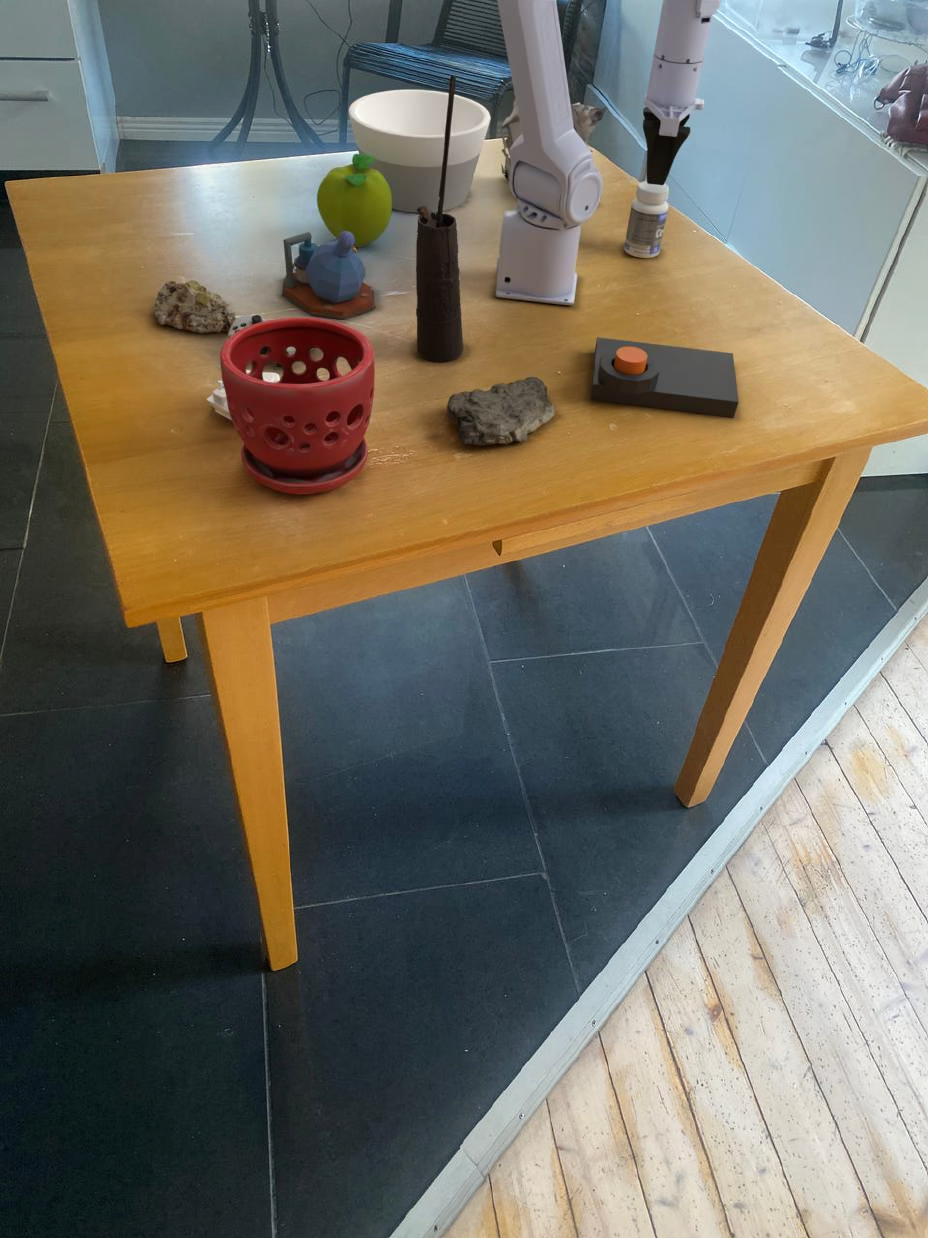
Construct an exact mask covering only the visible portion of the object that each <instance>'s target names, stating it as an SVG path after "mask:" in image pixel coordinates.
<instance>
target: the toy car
mask: <svg viewBox="0 0 928 1238" xmlns="http://www.w3.org/2000/svg"><path fill="white" fill-rule="evenodd" d="M250 372H251V369H250V370H249V369H246V373H247V374H249V373H250ZM262 374H263V380H264V381H267V382H273V383H276V382H278V381H279V380H280V379H281V377H280V375H279V374H278V373H276V372H264V371H263V373H262ZM220 379H221V380H220ZM220 379H219V380H216V383H218V388H215V389H214V390H213V391H211V394H210V396H209V397H207V398H206V401H207V402H208V403H209V404H211V406H212V407H213V408H214V412H215V413H217V414H219V415H221V416H223V417H225V418H227V420H230V421H232V419H231V416H230V413H229V410H228V405H227V398H226V393H225V389H224V385H223V380H222V375H220Z"/></svg>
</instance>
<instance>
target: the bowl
mask: <svg viewBox="0 0 928 1238" xmlns="http://www.w3.org/2000/svg"><path fill="white" fill-rule="evenodd" d="M448 99H449V92H444V91H438V90H437V91H436V90H430V89H429V90H428V89H394V90H385V91H379V92H374V93H371V94H367V95H364V96H362V97H359V98H357V99H355V100H354V101H353V102H352V103H351V104H350V106H349V107H348V117H349V121H350V125H351V129H352V133H353V137H354V140H355V145H356V147H357V151H358V154H364V155H373V156H375V158H374V160H373V161H372V163H371V164H370V165H369V166H368V167H367V168H370V169H375V170H377V171H378V172H380V173H381V174H382V176H383V177H384V178H385V180H386V181H387V183H388V185H389V188H390V191H391V196H392V210H396V211H400V212H405V213H416V214H419V213H418V212H417V208H419V207H421V206H426V207H427V210H428V212H429V213H430V214H431V213H437V211H438V202H439V199H440V197H439V189H440V181H441V173H442V163H443V155H444V142H445V127H446V118H447V117H446V116H447V107H448ZM491 117H492V116H491V114H490V111H489V110H488V109H487V108H486V107H485V106H484V105H482V104H480V103H479V102H477V101H475V100H473V99H470V98H468V97H464V96H460V95H457V94H454V102H453V112H452V121H451V132H450V141H449V150H448V160H447V169H446V181H445V194H444V204H443V212H446V211H449V210H453V209H456V208H457V207H460V206H461V205H463V204H464V203H465V202H466V201H467V199H468V195H469V192H470V188H471V186H472V182H473V179H474V176H475V173H476V168H477V165H478V163H479V160H480V155H481V152H482V150H483V146H484V143H485V140H486V136H487V133H488V129H489V126H490V122H491Z"/></svg>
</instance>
